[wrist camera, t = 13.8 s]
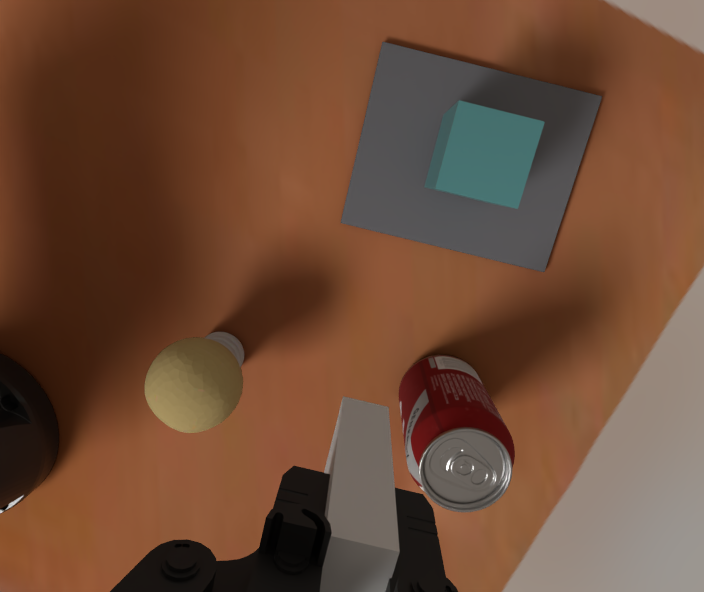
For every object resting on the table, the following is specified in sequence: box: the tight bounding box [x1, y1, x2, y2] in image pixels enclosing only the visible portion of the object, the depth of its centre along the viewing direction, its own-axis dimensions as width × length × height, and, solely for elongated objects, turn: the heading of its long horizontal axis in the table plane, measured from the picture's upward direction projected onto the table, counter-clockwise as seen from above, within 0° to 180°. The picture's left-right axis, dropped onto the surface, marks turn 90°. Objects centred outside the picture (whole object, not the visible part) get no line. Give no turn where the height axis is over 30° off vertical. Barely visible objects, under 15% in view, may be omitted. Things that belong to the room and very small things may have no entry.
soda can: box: [399, 355, 515, 512], centre depth 36 cm, size 7×7×12 cm
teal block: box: [424, 100, 545, 209], centre depth 34 cm, size 5×5×7 cm
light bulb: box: [145, 332, 244, 433], centre depth 37 cm, size 6×6×10 cm
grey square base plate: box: [341, 42, 602, 272], centre depth 35 cm, size 16×13×7 cm
